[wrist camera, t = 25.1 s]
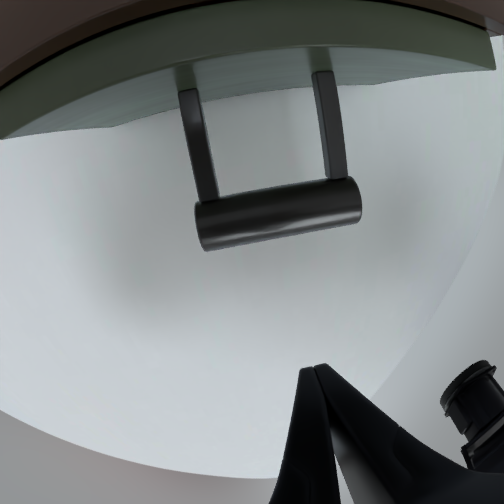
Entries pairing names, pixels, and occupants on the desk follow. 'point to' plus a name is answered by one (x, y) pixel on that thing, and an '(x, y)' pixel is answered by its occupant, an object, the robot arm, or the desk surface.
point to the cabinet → (140, 4)
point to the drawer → (244, 90)
